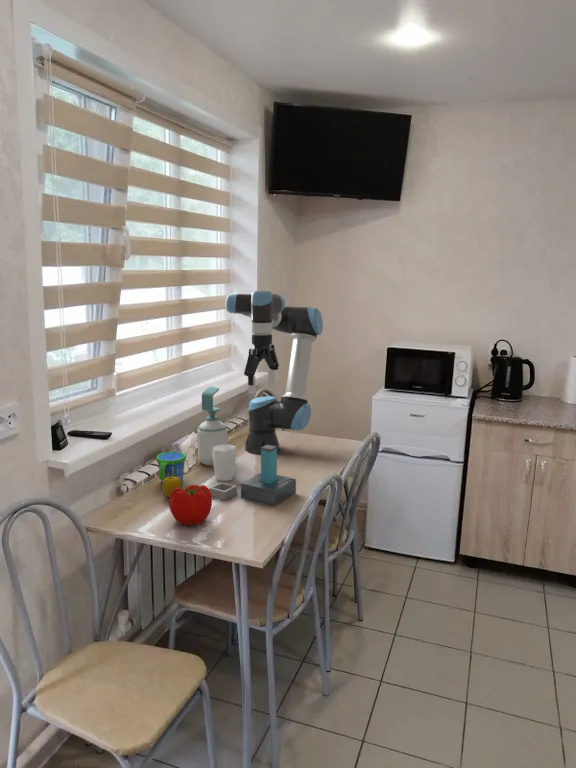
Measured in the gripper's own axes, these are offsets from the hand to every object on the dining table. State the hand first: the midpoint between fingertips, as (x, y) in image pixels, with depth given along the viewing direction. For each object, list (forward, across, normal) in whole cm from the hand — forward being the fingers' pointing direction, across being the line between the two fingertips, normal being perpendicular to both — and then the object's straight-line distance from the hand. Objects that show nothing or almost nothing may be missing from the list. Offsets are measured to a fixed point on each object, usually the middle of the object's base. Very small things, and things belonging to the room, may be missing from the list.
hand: (262, 390), depth 227 cm
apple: (+34, +35, -15) cm, 51 cm away
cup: (+34, +10, -11) cm, 37 cm away
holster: (+33, +24, -1) cm, 41 cm away
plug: (+32, +16, +13) cm, 39 cm away
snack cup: (+34, +24, -25) cm, 48 cm away
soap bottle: (+34, -2, -26) cm, 43 cm away
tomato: (+33, +47, +3) cm, 58 cm away
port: (+34, +16, +13) cm, 39 cm away
